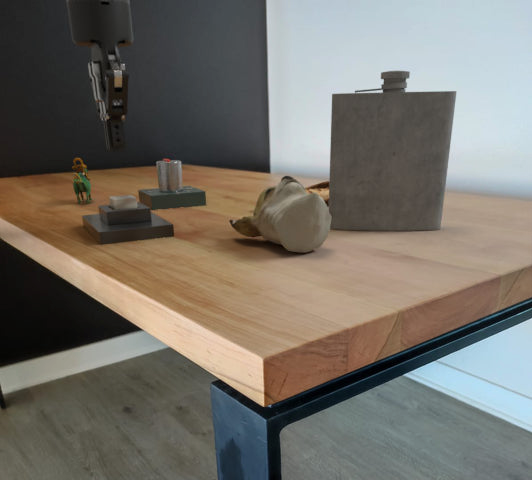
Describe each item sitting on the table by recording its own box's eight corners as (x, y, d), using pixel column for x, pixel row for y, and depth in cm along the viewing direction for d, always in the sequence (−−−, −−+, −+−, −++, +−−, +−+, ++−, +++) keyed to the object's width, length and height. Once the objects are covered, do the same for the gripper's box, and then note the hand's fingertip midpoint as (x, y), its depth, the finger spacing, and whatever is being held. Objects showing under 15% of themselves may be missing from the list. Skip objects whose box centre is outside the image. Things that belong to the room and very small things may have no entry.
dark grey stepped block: (100, 245, 71) (97, 218, 69) (83, 226, 82) (79, 203, 81) (174, 236, 75) (172, 210, 73) (148, 220, 86) (145, 197, 85)
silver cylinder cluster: (186, 190, 98) (184, 159, 96) (163, 192, 96) (160, 161, 94) (178, 187, 102) (175, 158, 100) (155, 189, 100) (152, 159, 98)
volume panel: (152, 210, 94) (150, 194, 93) (139, 203, 102) (137, 188, 101) (206, 205, 98) (205, 190, 97) (190, 199, 106) (189, 184, 105)
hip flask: (438, 225, 79) (456, 70, 70) (443, 231, 75) (462, 68, 67) (328, 224, 80) (332, 73, 72) (327, 230, 77) (332, 71, 68)
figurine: (97, 197, 109) (91, 154, 106) (87, 207, 98) (80, 160, 95) (82, 198, 109) (75, 155, 106) (69, 208, 98) (62, 160, 95)
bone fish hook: (336, 199, 104) (252, 206, 97) (337, 174, 103) (251, 178, 95) (365, 204, 97) (276, 211, 89) (367, 177, 95) (276, 182, 88)
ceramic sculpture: (272, 180, 58) (222, 176, 70) (275, 261, 61) (226, 243, 74) (356, 175, 62) (294, 171, 75) (354, 251, 65) (295, 235, 78)
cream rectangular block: (115, 212, 75) (113, 199, 75) (110, 209, 78) (108, 196, 77) (138, 210, 77) (136, 197, 76) (132, 207, 79) (131, 194, 79)
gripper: (59, 8, 71) (80, 149, 78) (75, -12, 60) (98, 155, 67) (117, 11, 74) (132, 147, 81) (142, -7, 63) (157, 152, 70)
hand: (116, 150), depth 74 cm, fingers closed
